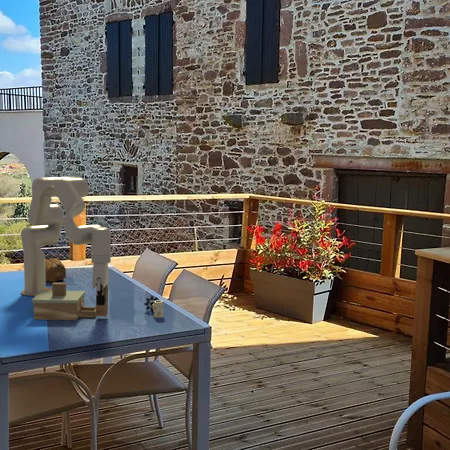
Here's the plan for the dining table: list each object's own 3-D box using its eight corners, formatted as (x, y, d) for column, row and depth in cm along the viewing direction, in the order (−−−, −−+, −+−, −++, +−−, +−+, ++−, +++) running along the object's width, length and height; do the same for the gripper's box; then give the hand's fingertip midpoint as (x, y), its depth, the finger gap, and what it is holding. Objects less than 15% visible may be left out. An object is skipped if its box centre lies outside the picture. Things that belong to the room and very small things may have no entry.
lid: (42, 293, 256) (41, 278, 255) (85, 293, 256) (85, 279, 255) (31, 302, 241) (31, 287, 240) (77, 303, 241) (77, 288, 240)
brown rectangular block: (97, 313, 246) (98, 284, 245) (107, 313, 247) (108, 284, 245) (95, 315, 242) (96, 286, 241) (105, 316, 243) (106, 286, 241)
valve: (167, 317, 248) (159, 310, 259) (167, 301, 248) (159, 294, 258) (152, 319, 246) (144, 311, 257) (152, 303, 245) (144, 296, 256)
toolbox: (43, 309, 256) (43, 293, 255) (99, 310, 257) (99, 294, 256) (34, 319, 242) (33, 302, 241) (93, 320, 243) (93, 303, 242)
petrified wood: (70, 281, 307) (65, 262, 305) (44, 288, 302) (39, 270, 299) (62, 272, 324) (58, 254, 322) (37, 279, 319) (33, 261, 317)
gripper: (95, 254, 250) (96, 298, 252) (87, 262, 233) (87, 308, 236) (113, 254, 250) (114, 298, 252) (106, 262, 233) (107, 309, 236)
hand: (101, 302), depth 244 cm, fingers closed on brown rectangular block, 4 cm apart
